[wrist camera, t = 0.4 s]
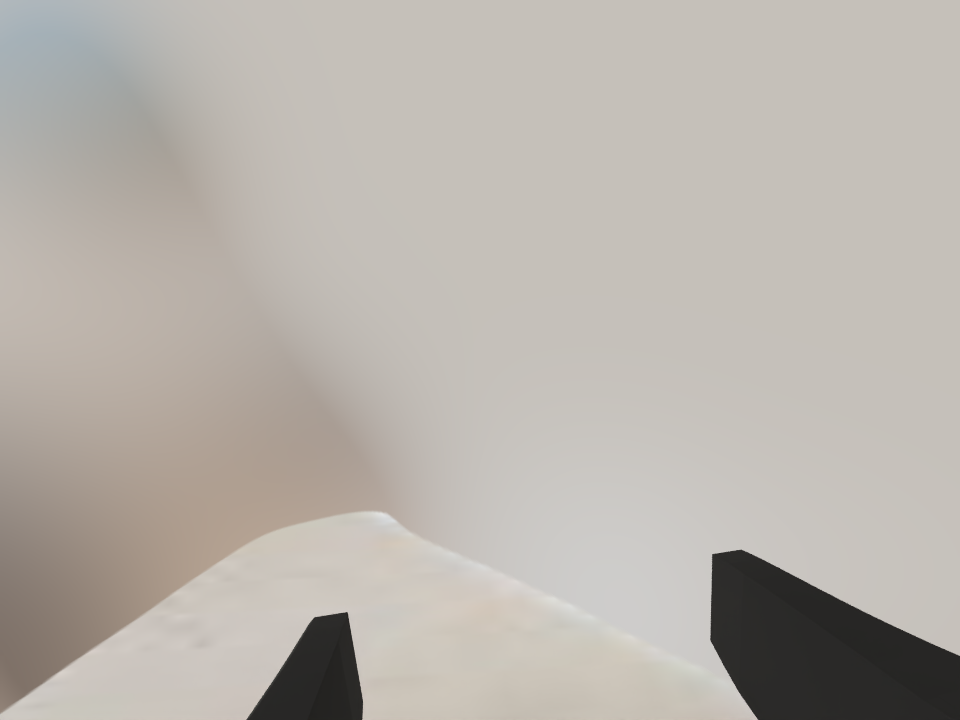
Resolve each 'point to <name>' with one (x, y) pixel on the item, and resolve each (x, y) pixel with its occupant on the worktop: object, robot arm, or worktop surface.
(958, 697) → the robot arm
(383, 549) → the worktop surface
